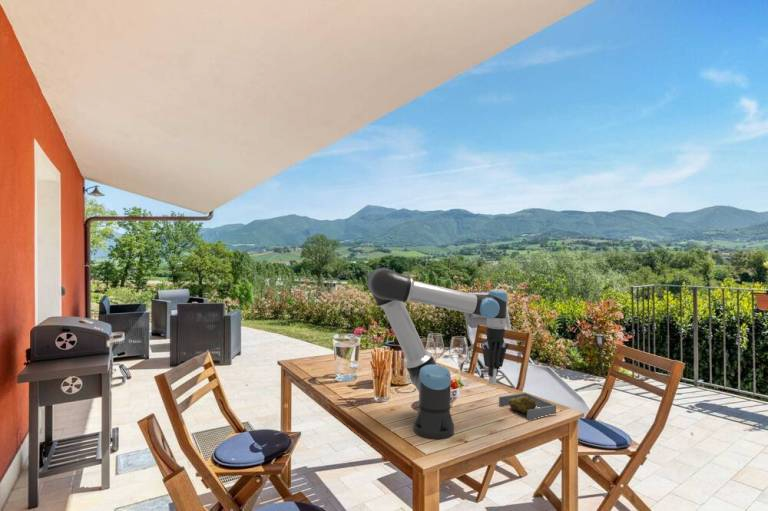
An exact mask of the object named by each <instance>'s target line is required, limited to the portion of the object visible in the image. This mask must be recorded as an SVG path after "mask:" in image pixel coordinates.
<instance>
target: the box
mask: <svg viewBox="0 0 768 511" xmlns="http://www.w3.org/2000/svg"><path fill="white" fill-rule="evenodd" d="M521 396H527V397H531V398H532V399H533V400H534V401H535V404H536V406H537V407H540V408H537V407H536V408H535V409H529V410H527V413H526V420H527V419H528V420H527V421H531V420H530V419H533V420H535V419H534V418H538V417H541V416H545V415H549V414H554V413H556V414H557V405H556V404H555V403H551V402H549V401H546V400H545V399H542V398H539V397H537V396H534V395H532V394H530V393H527V392H521V393H515V394H510V395H503V396H499V397H498V406H499V407H504V405H506V406H510V405H509V401H510V399H513V398H518V397H521ZM538 419H539V418H538Z"/></svg>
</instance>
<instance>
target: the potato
mask: <svg viewBox="0 0 768 511" xmlns="http://www.w3.org/2000/svg"><path fill="white" fill-rule="evenodd" d="M508 406H509V408H511V409H513V410H515V411H517V412H519V413H522V414H527V410H529V409H535V408H537V407H536V404H535V401H534V400H533V399H532V398H531V397H527V396H521V397H518V398H513V399H510V401H509V405H508Z"/></svg>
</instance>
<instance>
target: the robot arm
mask: <svg viewBox="0 0 768 511" xmlns="http://www.w3.org/2000/svg"><path fill="white" fill-rule="evenodd" d="M366 286H367V289H368V291H369V292H370V293H371V295H372V297H373V299H374V301H375V303H376V306H377V307H379V308H381V309H382V310H383V311H384V314H385V315H386V318H387V321H388V323H389V324H390V326H391V329H392V331H393V333H394V336H395V337H396V340H397V342H398V343H399V346H400V348H401V350H402V352H403V355H404V357H405V359H406V363H405V368H406V370H407V372H408V375H409V379H410V381H411V383H412V384H413V385H414V386H415V388H416V390H417V391H418V410H417V413H416V416H415V419H414V421H413V431H414V433H415V434H416V435H418V436H420V437H423V438H427V439H432V440H443V439H447V438H450V437H452V436H453V435H454V434H455V425H454V422H453V418H452V414H451V385H452V384H451V383H452V378H451V372H450V370H449V369H448V368H447V367H445V366H442V365H441V364H440V365H439V364H437V363H436V361H435V359H434V357H433V355H432V353H431V352H429V351H427V350H426V348H425V345H424V344H423V342H422V339H421V337H420V336H419V333H418V331H417V329H416V326H415V324H414V322H413V320H412V318H411V316H410V313H409V310H408V309H407V306H406V304H405V303H407V302H409V301H410V302H415V303H419V304H420V303H421V304H424V305H428V306H429V305H430V306H433V307H438V308H443V309H448V310H451V311H457V312H462V313H465V314H466V313H467V314H470V315H475V316H479V317H483V318H484V319H486V326H487V327H486V331H485V332H486V339H485V342H484V343H481V344H480V346H481V349H482V357H483V361H484V362H483V363H484V364H483V365H484V367H486V368H488V373H487V374H488V383H489V384H490V385H492V386H495V385H497V376H498V375H499V374H498V373H499V370H500V369H501V368H502V367H503V364H504V360H505V356H506V353H507V352H506V351H507V350H508V348H509V343H506V342H505V339H504V338H505V337H506V329H505V328H506V321H507V320H506V319H507V307H508V306H507V305H508V293H507V292H506V291H505V290H498V289H497V290H496V289H489V290H488V294H479V293H469V292H465V291H461V290H456V289H452V288H447V287H443V286H440V285H435V284H429V283H425V282H421V281H417V280H414V279H413V278H412V277H411V276H408V275H403V274H401V273H398V272H396V271H394V270H392V269H389V268H387V267H379V268H376V269H375V270H372V272H370V274H369V275H368V277H367V283H366Z"/></svg>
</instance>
